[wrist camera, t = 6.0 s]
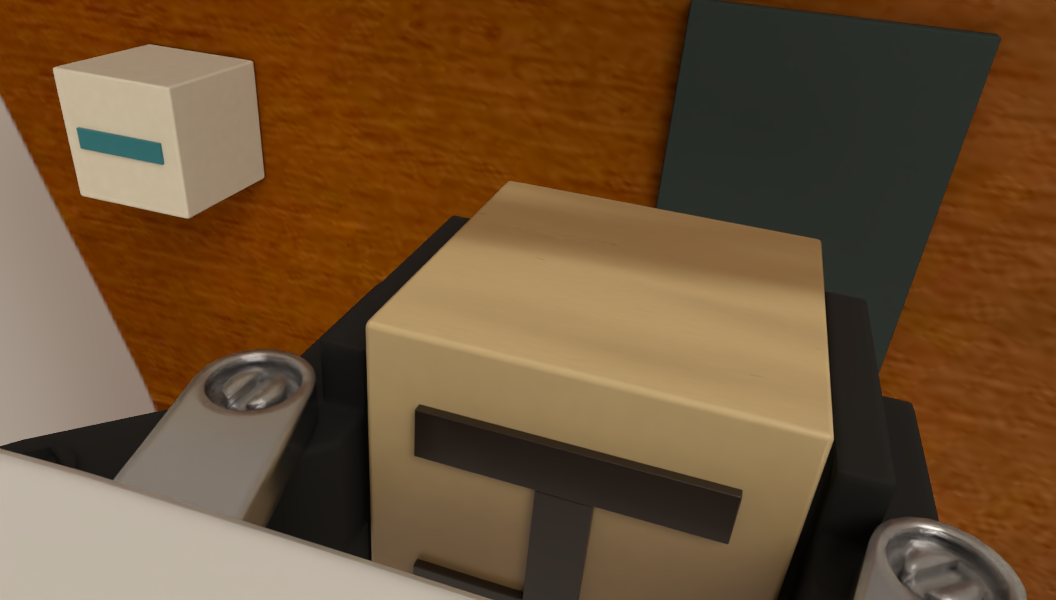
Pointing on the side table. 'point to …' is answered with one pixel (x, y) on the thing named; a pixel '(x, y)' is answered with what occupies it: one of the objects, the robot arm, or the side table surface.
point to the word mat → (824, 136)
